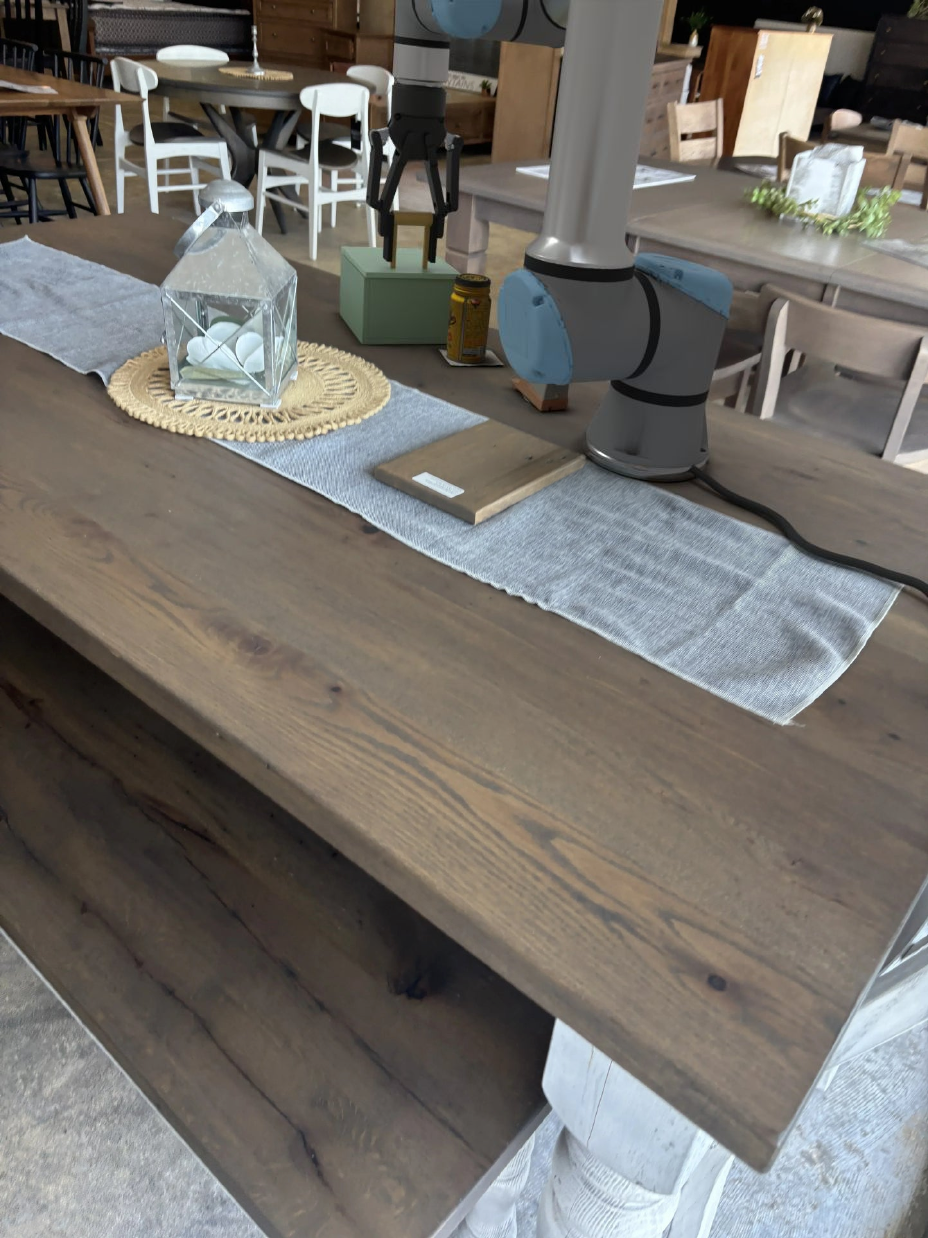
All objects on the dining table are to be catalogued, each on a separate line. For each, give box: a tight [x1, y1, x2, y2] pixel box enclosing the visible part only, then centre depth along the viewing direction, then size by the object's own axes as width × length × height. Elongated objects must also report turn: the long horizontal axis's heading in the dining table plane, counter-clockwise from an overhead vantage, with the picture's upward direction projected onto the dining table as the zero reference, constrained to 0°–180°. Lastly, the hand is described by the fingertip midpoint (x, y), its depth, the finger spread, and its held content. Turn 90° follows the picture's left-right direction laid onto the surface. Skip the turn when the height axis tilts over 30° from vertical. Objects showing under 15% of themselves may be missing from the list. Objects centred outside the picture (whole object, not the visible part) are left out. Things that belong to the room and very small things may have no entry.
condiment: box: [438, 272, 505, 367], centre depth 135 cm, size 7×8×12 cm
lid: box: [340, 209, 461, 279], centre depth 139 cm, size 17×15×9 cm
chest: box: [339, 251, 455, 345], centre depth 145 cm, size 16×15×10 cm
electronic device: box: [509, 377, 570, 412], centre depth 125 cm, size 4×10×8 cm, turn 25°
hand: (409, 259), depth 136 cm, fingers closed on lid, 6 cm apart
